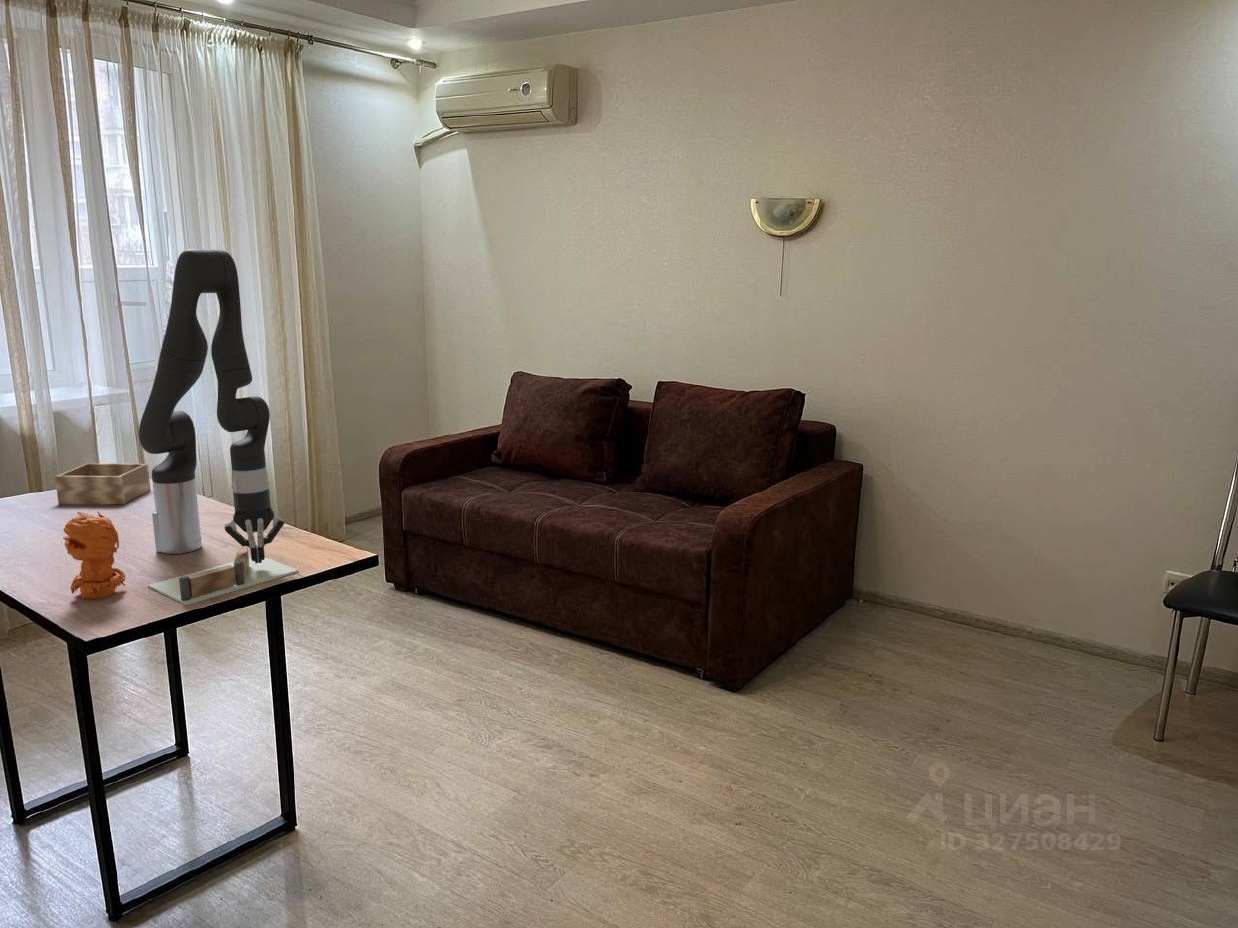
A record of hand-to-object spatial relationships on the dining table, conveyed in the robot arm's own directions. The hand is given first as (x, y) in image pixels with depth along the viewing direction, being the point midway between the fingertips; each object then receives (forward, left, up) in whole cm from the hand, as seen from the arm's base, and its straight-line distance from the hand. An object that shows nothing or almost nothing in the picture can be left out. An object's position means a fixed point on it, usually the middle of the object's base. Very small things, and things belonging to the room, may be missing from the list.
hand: (258, 562), depth 208 cm
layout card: (-5, -5, -2) cm, 8 cm away
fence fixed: (-5, -14, -2) cm, 15 cm away
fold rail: (-3, -3, -1) cm, 4 cm away
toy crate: (-66, +62, -2) cm, 91 cm away
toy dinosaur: (-28, -14, -2) cm, 32 cm away
